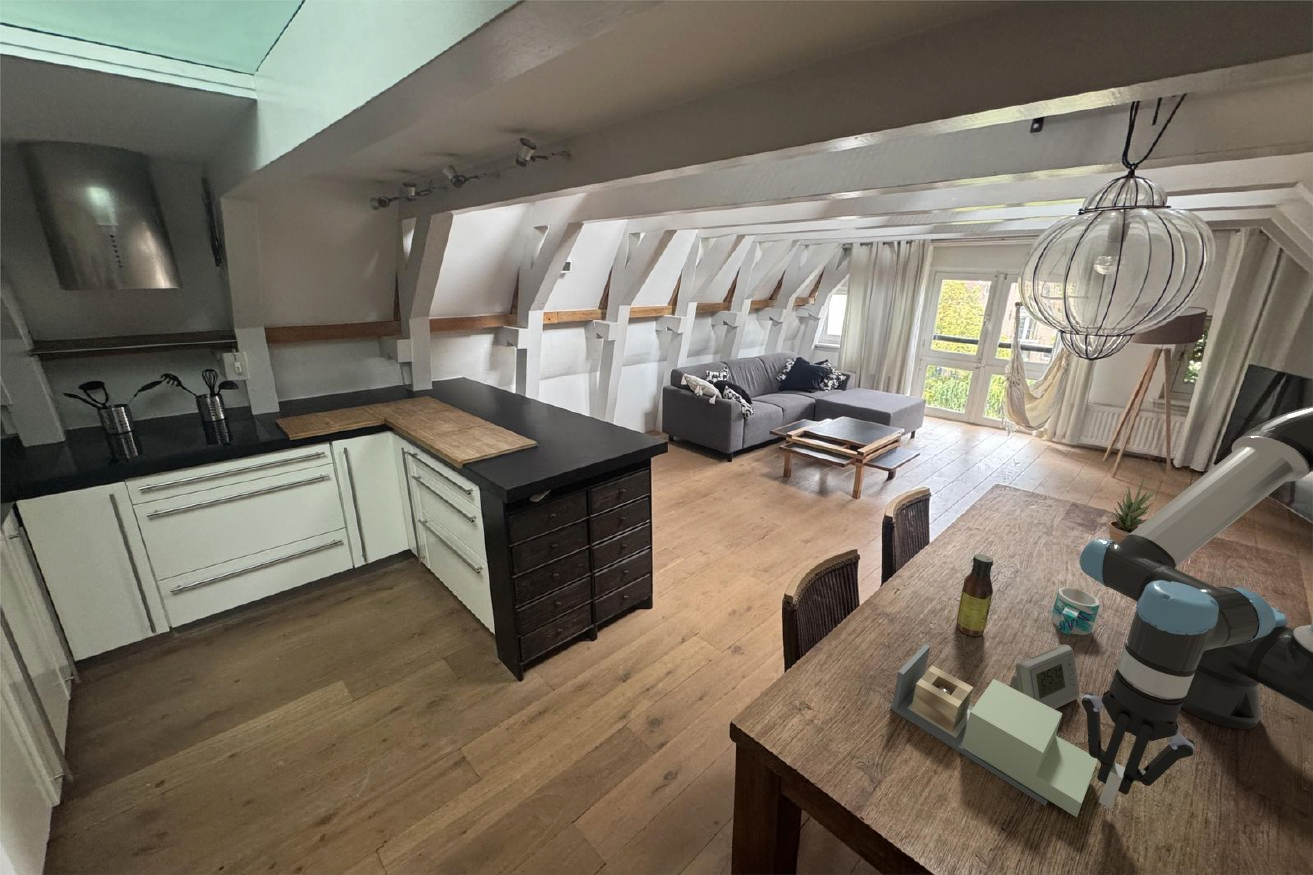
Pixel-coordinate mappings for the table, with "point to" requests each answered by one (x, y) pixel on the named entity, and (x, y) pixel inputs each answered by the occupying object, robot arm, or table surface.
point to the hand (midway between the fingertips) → (1106, 800)
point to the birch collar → (942, 698)
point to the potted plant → (1129, 515)
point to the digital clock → (1048, 677)
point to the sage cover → (1028, 745)
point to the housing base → (954, 739)
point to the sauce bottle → (976, 597)
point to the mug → (1075, 611)
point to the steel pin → (945, 689)
